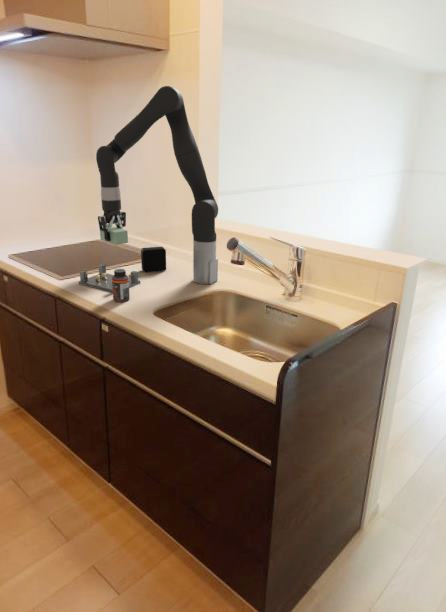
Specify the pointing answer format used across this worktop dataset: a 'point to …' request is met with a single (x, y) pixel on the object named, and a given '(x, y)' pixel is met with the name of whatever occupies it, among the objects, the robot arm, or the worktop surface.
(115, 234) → the pale green rectangular block
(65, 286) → the worktop surface
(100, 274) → the chassis
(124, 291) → the supplement bottle
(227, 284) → the worktop surface
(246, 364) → the worktop surface
